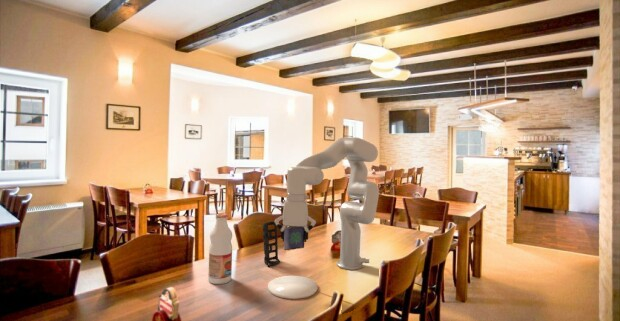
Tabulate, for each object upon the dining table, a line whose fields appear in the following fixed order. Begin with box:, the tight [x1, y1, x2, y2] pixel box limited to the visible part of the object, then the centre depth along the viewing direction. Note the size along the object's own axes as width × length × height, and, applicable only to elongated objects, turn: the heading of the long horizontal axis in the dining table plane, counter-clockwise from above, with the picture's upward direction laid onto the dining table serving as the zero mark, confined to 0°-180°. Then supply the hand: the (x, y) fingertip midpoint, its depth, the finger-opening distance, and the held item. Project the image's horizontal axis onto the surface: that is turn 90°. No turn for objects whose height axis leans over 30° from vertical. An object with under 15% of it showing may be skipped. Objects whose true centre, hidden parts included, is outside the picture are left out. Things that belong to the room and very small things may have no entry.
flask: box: [283, 226, 305, 251], centre depth 132 cm, size 9×3×11 cm, turn 121°
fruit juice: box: [208, 212, 233, 285], centre depth 138 cm, size 9×9×28 cm
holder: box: [262, 221, 281, 268], centre depth 160 cm, size 11×8×20 cm
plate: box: [267, 275, 318, 300], centre depth 133 cm, size 20×20×1 cm
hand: (294, 240), depth 132 cm, fingers closed on flask, 8 cm apart
